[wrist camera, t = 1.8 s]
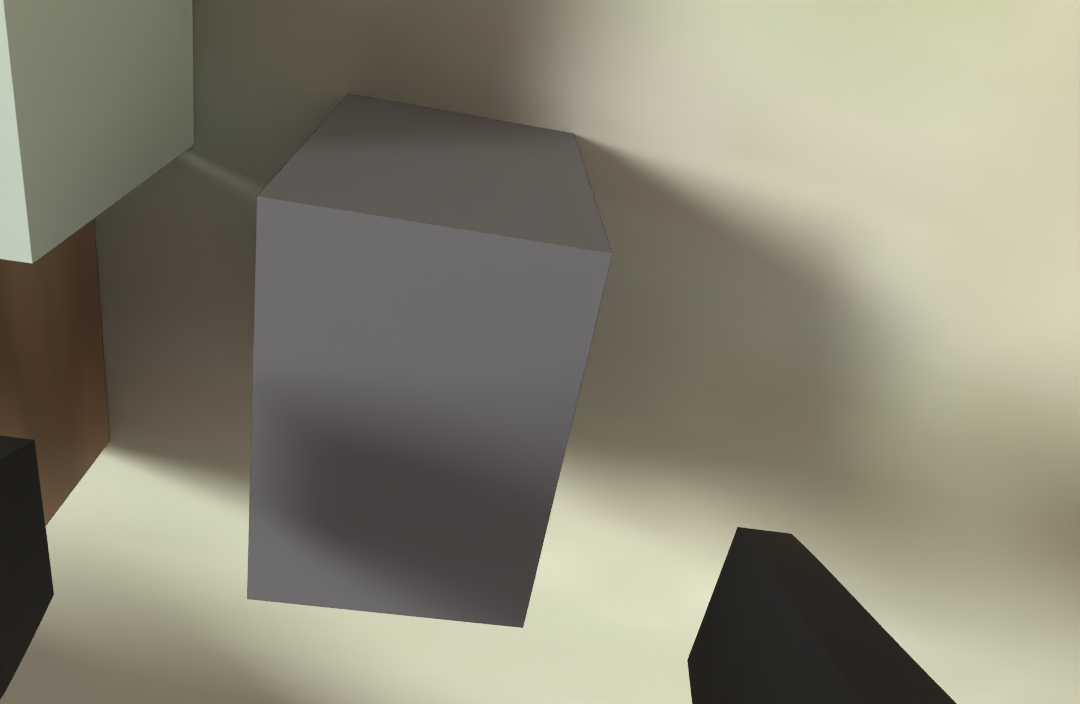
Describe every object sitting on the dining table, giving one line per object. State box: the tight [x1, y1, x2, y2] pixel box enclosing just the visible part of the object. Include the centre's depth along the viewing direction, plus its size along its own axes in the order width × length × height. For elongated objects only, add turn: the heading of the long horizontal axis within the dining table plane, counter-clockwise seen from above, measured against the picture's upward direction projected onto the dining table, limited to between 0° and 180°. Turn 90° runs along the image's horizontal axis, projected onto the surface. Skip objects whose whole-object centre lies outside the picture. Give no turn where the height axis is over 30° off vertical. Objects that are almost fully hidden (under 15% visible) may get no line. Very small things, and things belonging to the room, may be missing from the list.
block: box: [247, 94, 612, 628], centre depth 13 cm, size 6×4×6 cm, turn 170°
